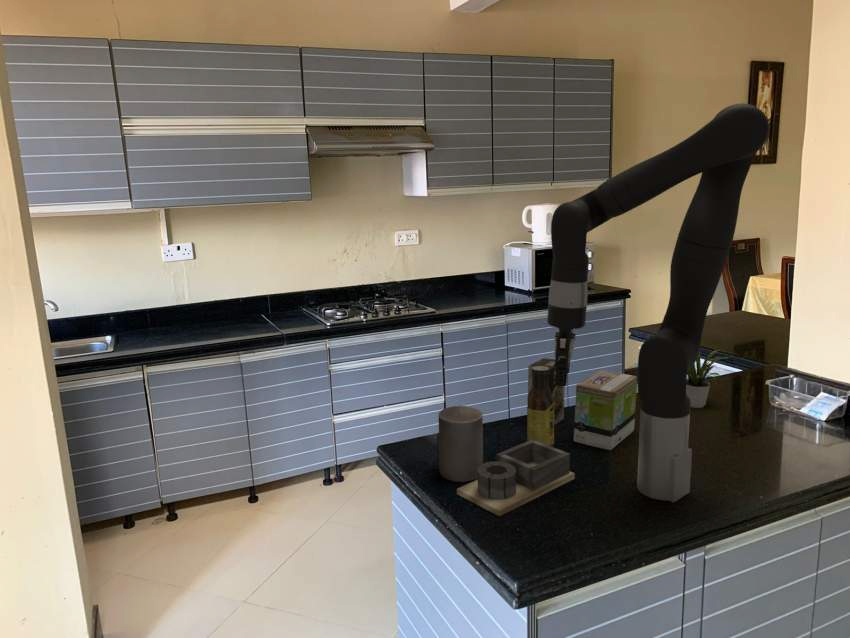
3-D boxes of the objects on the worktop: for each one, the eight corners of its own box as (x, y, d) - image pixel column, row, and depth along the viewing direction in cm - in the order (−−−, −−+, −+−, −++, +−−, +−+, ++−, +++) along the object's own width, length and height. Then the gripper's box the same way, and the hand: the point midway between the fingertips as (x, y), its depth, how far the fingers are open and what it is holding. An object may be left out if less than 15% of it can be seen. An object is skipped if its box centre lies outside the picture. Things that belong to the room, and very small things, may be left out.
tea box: (612, 452, 150) (615, 391, 146) (572, 442, 156) (573, 384, 152) (635, 430, 161) (638, 374, 158) (597, 422, 167) (598, 368, 164)
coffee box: (549, 430, 163) (550, 369, 160) (526, 425, 167) (527, 365, 164) (565, 419, 170) (566, 360, 167) (542, 414, 174) (543, 356, 171)
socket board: (574, 478, 137) (575, 453, 136) (499, 516, 123) (499, 489, 122) (531, 460, 146) (531, 437, 145) (456, 494, 132) (456, 468, 131)
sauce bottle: (556, 454, 149) (557, 372, 145) (529, 454, 149) (529, 372, 145) (551, 442, 156) (552, 363, 151) (525, 443, 156) (525, 364, 151)
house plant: (731, 401, 179) (736, 344, 176) (724, 417, 168) (729, 357, 165) (678, 393, 187) (681, 338, 183) (667, 408, 176) (670, 350, 172)
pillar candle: (432, 466, 145) (431, 404, 141) (472, 459, 148) (471, 397, 145) (449, 486, 136) (448, 419, 132) (491, 477, 139) (490, 412, 136)
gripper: (585, 311, 121) (579, 392, 125) (588, 296, 134) (582, 370, 138) (545, 308, 123) (540, 388, 127) (551, 294, 136) (547, 367, 140)
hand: (562, 379), depth 133 cm, fingers open, 8 cm apart
